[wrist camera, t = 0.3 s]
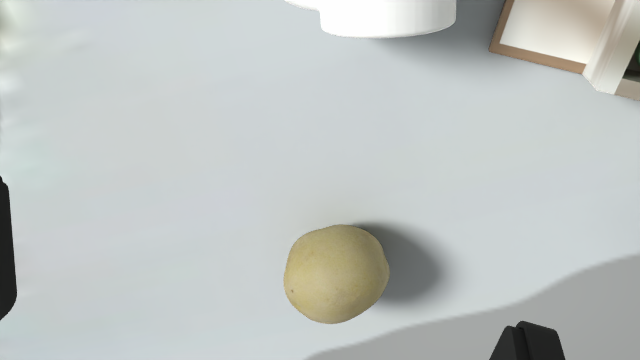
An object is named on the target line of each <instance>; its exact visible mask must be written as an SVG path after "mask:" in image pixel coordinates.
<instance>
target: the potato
mask: <svg viewBox="0 0 640 360" xmlns="http://www.w3.org/2000/svg"><path fill="white" fill-rule="evenodd" d="M389 277H390V269H389V265H388V262H387V260H386V257H385V255H384V252H383V249H382V246H381V244H380V243H379V241H378V240H377V239H376V238H375V237H374V236H373V235H371V234H370V233H369V232H367V231H365V230H363V229H360V228H357V227H354V226H350V225H333V226H329V227H326V228H323V229H319V230H315V231H311V232H309V233H307V234H305V235H303V236H302V237H300V238H299V239H298V240H297V241H296V242H295V243H294V245H293V246H292V248H291V250H290V253H289V256H288V260H287V265H286V269H285V273H284V289H285V293H286V295H287V298H288V299H289V301H290V302H291V304H292V305H293V306H294V307H295V308H296V309H297V310H298V311H299V312H301V313H302V314H303V315H305V316H306V317H307V318H309V319H311V320H313V321H316V322H320V323H325V324H335V323H341V322H345V321H348V320H350V319H352V318H354V317H356V316H358V315H359V314H361V313H363V312H364V311H366V310H367V309H368V308H370V307H371V306H372V305H373V304H374V303H375V302H376V301H377V300H378V299H379V298H380V296H381V295H382V293H383V292H384V290H385V288H386V285H387V283H388V280H389Z"/></svg>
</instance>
